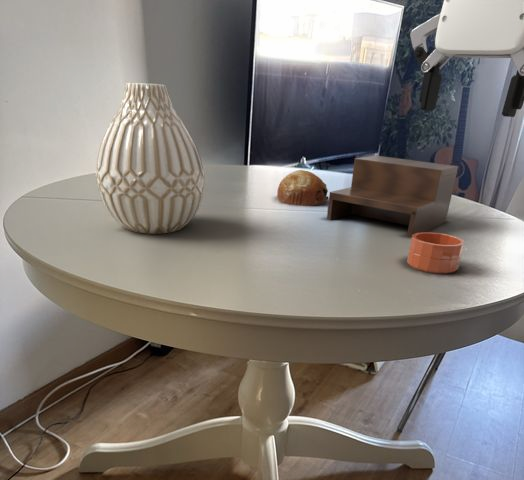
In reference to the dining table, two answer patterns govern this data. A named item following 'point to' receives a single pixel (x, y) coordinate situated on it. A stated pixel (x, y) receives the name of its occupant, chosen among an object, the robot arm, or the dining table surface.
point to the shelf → (397, 192)
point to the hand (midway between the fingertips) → (465, 113)
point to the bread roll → (302, 189)
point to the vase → (149, 164)
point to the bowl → (435, 252)
